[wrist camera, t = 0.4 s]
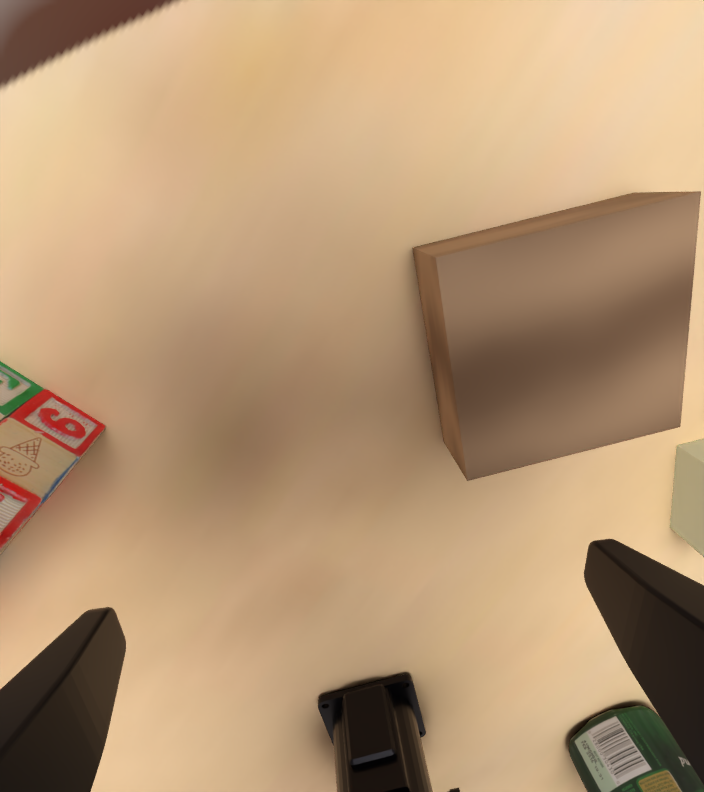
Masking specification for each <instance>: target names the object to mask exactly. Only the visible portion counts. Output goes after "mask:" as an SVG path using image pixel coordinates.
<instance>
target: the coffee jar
mask: <svg viewBox="0 0 704 792" xmlns="http://www.w3.org/2000/svg"><path fill="white" fill-rule="evenodd" d="M569 752H570V756H571V759H572V761H573V763H574V765H575V767H576V769H577V771H578V773H579V775H580V778H581V780H582V782H583V784H584V786H585V788H586V790H587V792H704V785H703V783H702V782H701V780H700V779H699V777H698V775H697V774H696V772H695V771H694V769H693V768H692V766H691V764H690V763H689V761H688V760H687V758H686V757H685V755H684V753H683V752H682V750H681V749H680V747H679V746H678V744H677V742H676V741H675V739H674V738H673V736H672V735H671V733H670V731H669V730H668V728H667V727H666V725H665V723H664V722H663V720H662V719H661V718H660V717H659V716H658V715H657V714H656V713H655V712H654V711H652V710H651V709H649V708H647V707H644V706H634V707H627V708H621V709H613V710H609V711H606V712H604V713H602V714H600V715H598V716H596V717H594V718H592V719H591V720H589V721H588V723H587V724H586V725H585V726H584V727H583V728H582V729H581V730H580V731H579V732H578V733H577V734H576V735H574V736H573V737H572V738H571V740H570V743H569Z"/></svg>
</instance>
